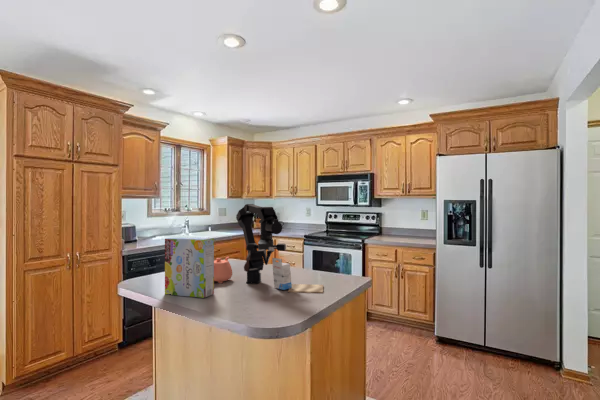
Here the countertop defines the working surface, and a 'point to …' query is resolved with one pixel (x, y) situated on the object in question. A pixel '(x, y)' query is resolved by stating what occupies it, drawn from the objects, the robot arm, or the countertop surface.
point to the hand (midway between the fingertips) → (266, 264)
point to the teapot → (222, 270)
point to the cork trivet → (306, 288)
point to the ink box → (281, 274)
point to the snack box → (189, 266)
